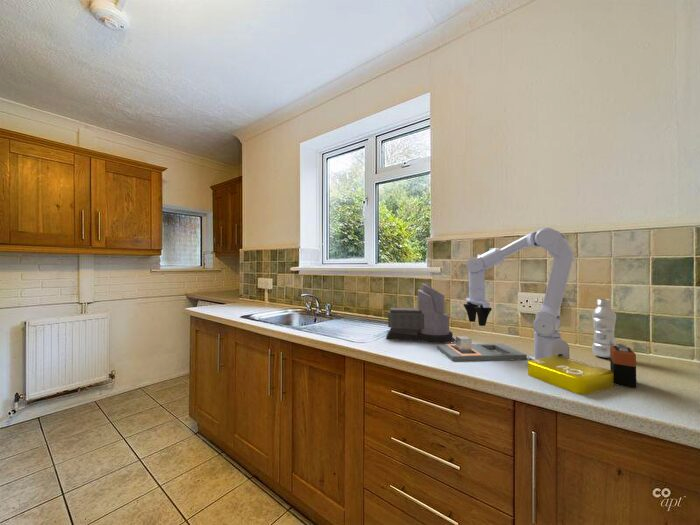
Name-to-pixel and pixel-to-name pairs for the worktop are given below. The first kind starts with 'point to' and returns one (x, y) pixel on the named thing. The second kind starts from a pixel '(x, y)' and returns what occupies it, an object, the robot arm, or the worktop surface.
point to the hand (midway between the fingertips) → (477, 323)
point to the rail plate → (482, 352)
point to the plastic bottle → (603, 328)
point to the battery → (623, 365)
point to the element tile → (571, 374)
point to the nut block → (464, 344)
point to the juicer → (421, 320)
